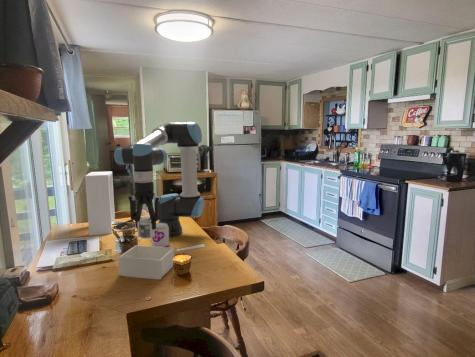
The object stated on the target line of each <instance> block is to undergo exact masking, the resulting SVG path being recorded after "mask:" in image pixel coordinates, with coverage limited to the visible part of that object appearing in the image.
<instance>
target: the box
mask: <svg viewBox="0 0 475 357" xmlns="http://www.w3.org/2000/svg"><path fill="white" fill-rule="evenodd" d="M84 180H85V182H84V183H85V193H86V194H85V195H86V207H87V208H86V210H87V211H86V212H87V226H88V235H89V236H98V235H108V234H109V235H111V234H113V232H112V230H111V226H112V224H113V223H114V222H115V223H116V213H115V212H116V211H115V200H114V199H115V197H114V196H115V195H114V181H113V180H114V179H113V171H112V170H111V171H109V170H108V171H106V170H105V171H91V172H89V173H87V174H85V175H84Z"/></svg>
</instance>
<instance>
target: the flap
mask: <svg viewBox="0 0 475 357" xmlns="http://www.w3.org/2000/svg"><path fill="white" fill-rule="evenodd" d="M109 257H111V258H112V257H114V258H118V257H120V255H118V256H117V255H109ZM122 258H133V259H147V258H134V257H122ZM149 260H158V259H149Z"/></svg>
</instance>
